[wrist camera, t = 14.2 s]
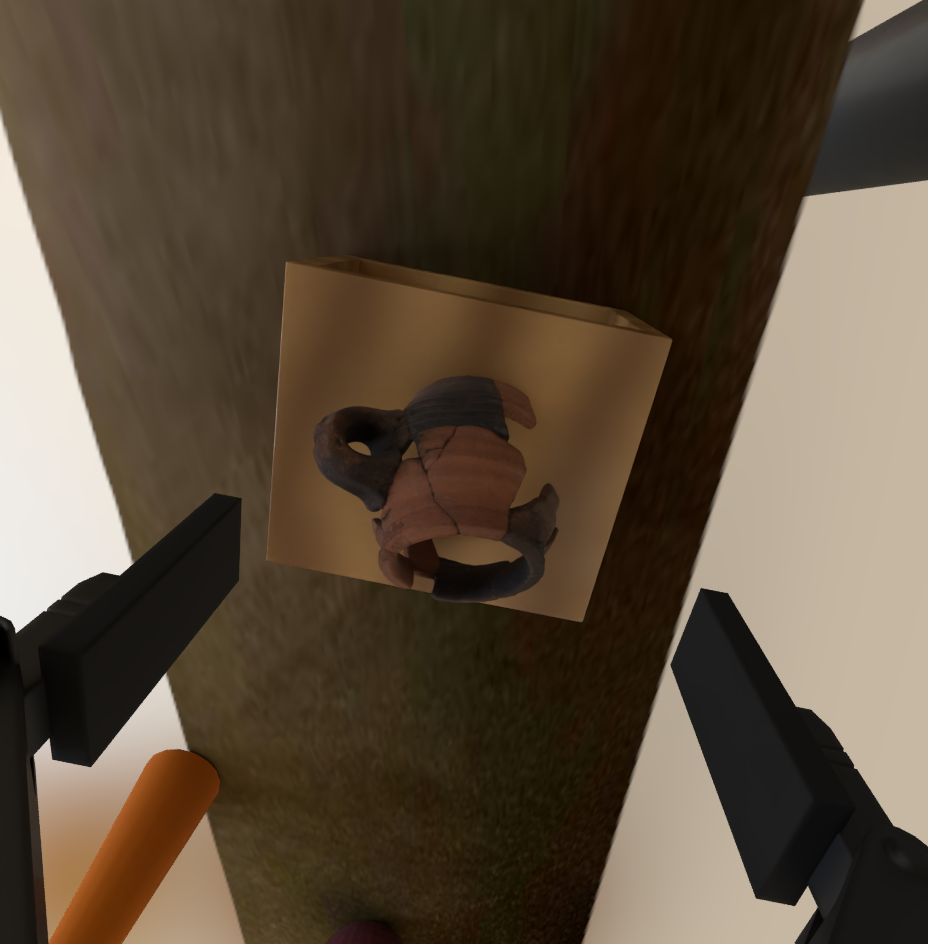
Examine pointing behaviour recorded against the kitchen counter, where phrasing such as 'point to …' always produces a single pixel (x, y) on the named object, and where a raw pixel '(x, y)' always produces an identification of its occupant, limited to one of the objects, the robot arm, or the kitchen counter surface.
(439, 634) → the kitchen counter surface
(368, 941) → the decorative ball
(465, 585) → the pottery mug
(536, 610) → the tan open box
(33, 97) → the kitchen counter surface
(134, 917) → the spray bottle
